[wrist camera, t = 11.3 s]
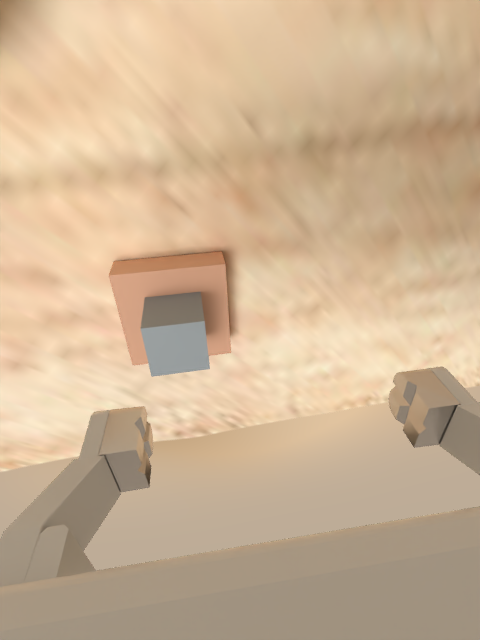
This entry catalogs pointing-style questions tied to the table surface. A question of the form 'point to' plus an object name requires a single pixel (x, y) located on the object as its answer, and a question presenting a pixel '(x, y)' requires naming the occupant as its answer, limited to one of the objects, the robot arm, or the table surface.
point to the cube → (174, 333)
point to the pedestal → (168, 279)
